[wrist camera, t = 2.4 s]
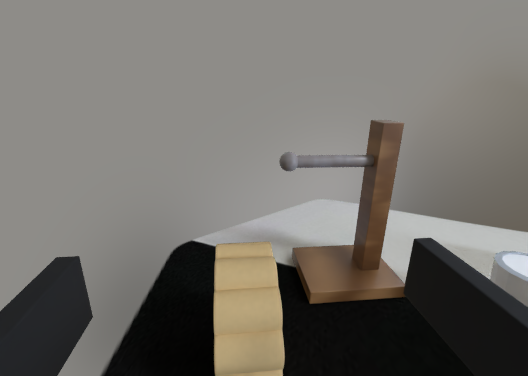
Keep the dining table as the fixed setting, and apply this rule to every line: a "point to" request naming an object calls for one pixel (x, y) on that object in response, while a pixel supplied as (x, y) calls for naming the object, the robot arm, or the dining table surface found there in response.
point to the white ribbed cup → (512, 274)
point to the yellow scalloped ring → (247, 311)
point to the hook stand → (367, 231)
